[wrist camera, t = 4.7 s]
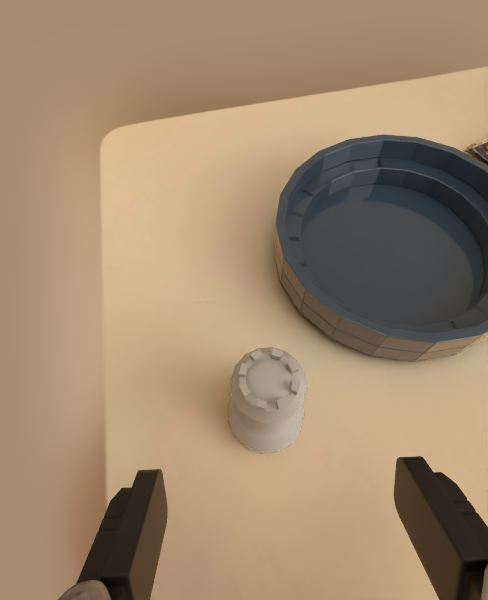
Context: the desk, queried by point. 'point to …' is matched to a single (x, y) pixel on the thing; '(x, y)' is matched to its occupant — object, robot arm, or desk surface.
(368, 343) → the dish
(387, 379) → the desk surface
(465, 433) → the desk surface
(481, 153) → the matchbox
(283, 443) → the rook chess piece
